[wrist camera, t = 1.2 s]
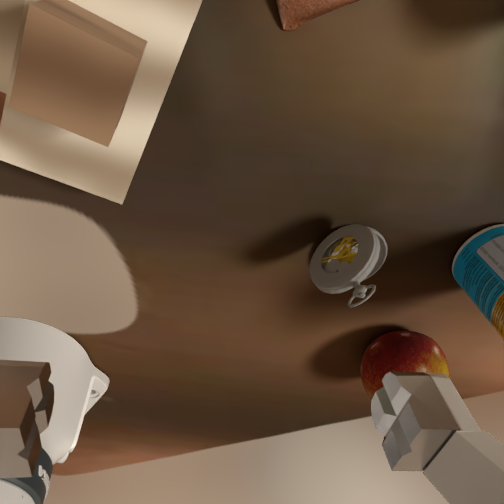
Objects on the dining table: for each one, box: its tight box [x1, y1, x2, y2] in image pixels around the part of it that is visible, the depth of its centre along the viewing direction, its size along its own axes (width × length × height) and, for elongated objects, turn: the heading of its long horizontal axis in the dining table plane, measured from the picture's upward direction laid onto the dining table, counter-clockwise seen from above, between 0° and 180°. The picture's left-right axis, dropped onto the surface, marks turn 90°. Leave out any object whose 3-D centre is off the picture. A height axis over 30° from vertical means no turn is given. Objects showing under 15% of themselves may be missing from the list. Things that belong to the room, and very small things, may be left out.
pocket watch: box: [309, 224, 387, 307], centre depth 36 cm, size 8×8×10 cm
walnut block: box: [9, 0, 148, 147], centre depth 22 cm, size 5×5×5 cm
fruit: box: [361, 331, 449, 399], centre depth 46 cm, size 10×9×8 cm
